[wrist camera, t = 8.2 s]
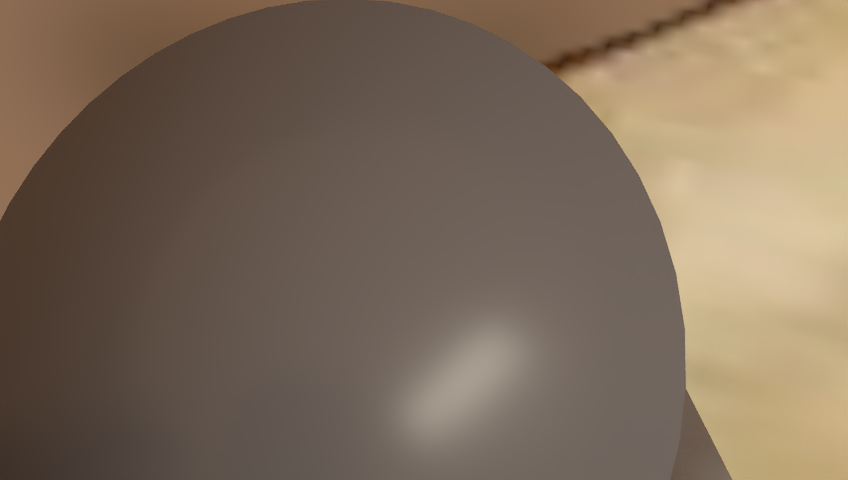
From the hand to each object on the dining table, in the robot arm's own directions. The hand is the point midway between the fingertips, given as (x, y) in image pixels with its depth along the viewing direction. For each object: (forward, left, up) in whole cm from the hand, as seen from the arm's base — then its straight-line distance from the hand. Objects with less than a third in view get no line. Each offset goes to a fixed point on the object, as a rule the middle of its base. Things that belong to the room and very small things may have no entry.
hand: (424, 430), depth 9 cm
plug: (0, +1, -8) cm, 9 cm away
